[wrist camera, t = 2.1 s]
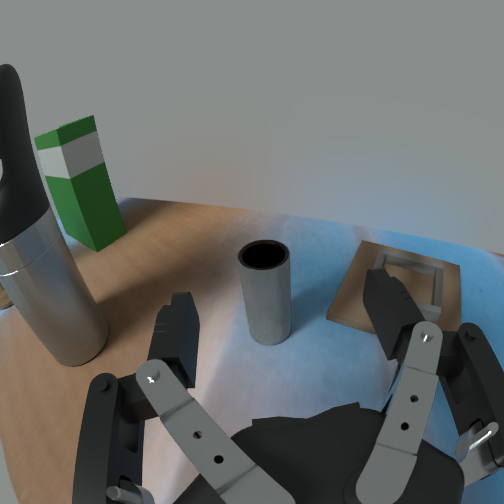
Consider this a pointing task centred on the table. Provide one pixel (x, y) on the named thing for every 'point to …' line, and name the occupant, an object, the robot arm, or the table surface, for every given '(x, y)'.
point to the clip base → (414, 279)
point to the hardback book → (80, 183)
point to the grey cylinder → (266, 290)
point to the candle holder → (4, 298)
